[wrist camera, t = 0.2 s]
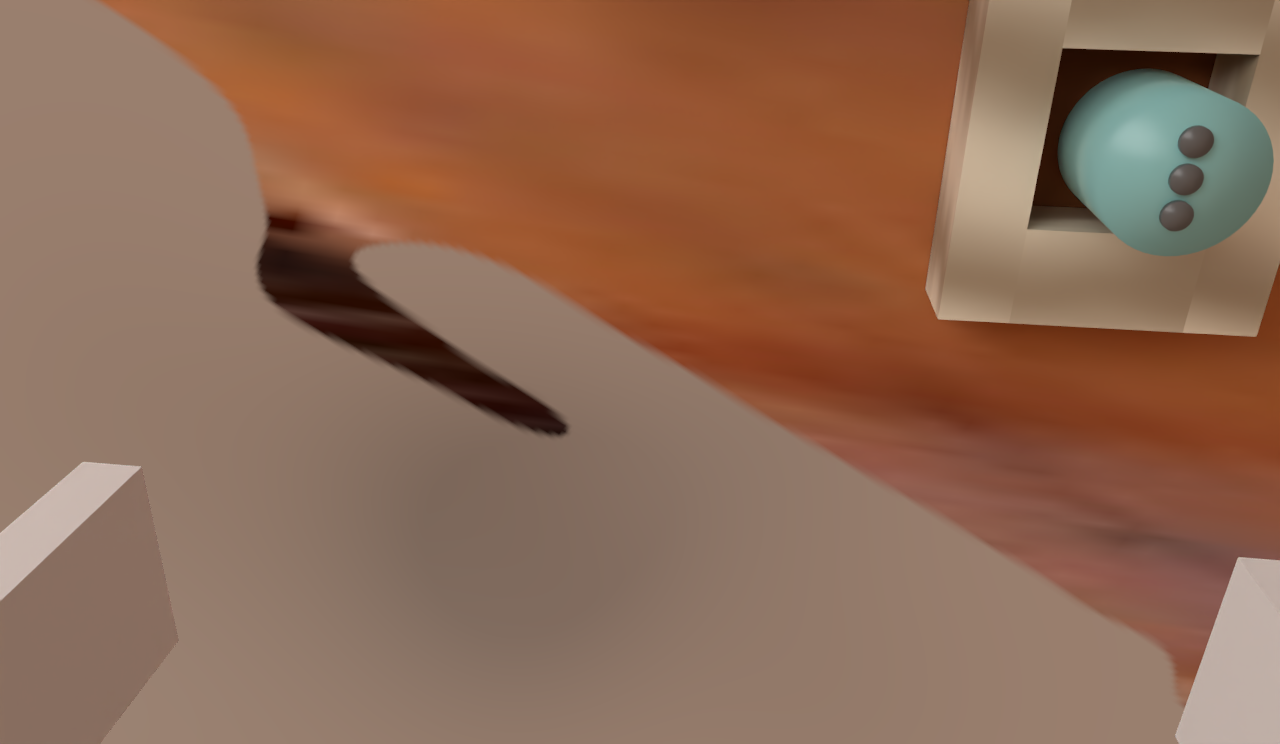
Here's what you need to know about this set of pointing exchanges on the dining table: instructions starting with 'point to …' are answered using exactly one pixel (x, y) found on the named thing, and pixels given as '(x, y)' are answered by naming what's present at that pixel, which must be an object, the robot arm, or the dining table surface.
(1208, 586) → the dining table surface
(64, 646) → the robot arm
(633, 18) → the dining table surface
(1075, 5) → the wooden compartment tray
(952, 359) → the dining table surface
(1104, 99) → the button
